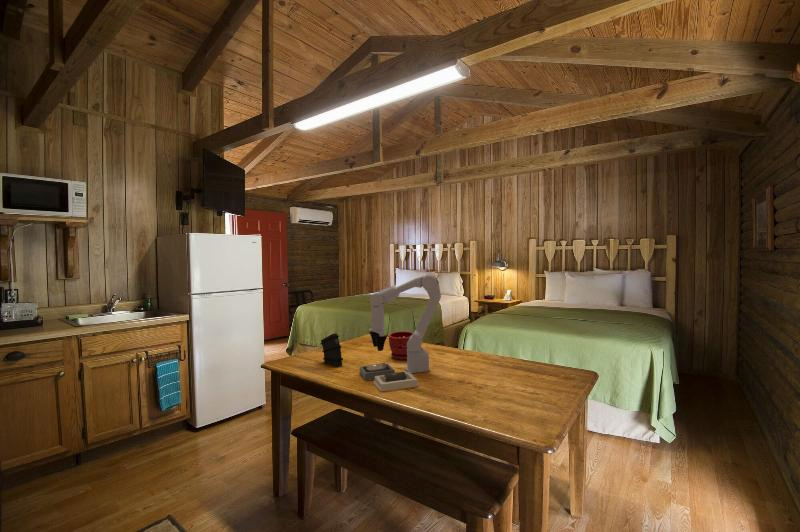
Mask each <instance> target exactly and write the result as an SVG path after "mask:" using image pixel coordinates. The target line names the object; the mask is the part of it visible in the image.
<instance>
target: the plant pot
mask: <svg viewBox="0 0 800 532" xmlns="http://www.w3.org/2000/svg"><path fill="white" fill-rule="evenodd" d="M413 334H414V332H413V331H395V332H391V333H389V334H388V345H389V349H390V351H391V357H392V358H393V359H394V360H395V359H396V360H399V359H400V360H401V361H402V360H403V361H404V359H405V360H407V349H408V348H407V342H408V340H409V338H410V336H411V335H413Z"/></svg>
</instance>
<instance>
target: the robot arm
mask: <svg viewBox="0 0 800 532" xmlns="http://www.w3.org/2000/svg"><path fill="white" fill-rule="evenodd" d="M413 288H420V289H421V288H423V289H424V290H425V291H426V293H427V295H428V296H429V297H428V298H429V299H428V301H427V304H426V305H425V308H424V310H423V312H422V314H421V317H420V319H419V321H418V323H417V325H416V327H415V329H414V332H413V333H414V334H413V335H411V336H410V338H409V340H408V342H407V348H408V349H407V359H406V365H407V366H405V367H404V370H406V372H409V373H410V374H416V373H425V372H430V355H429V351H428V350H427V349H424V348H423V347H422V345H423V342H424V340H423V338H424V335H425V333H426V331H427V330H428V327H429V325H430V323H431V320H432V318H433V315H434V313H435V311H436V309H437V307H438V305H439V303H440V301H441V298H442V294H441V293H442V292H441V288H440V282H439V280H438V278H437V276H436V275H435V274H432V273H428V274H425V275H421V276H418V277H416V278H413V279H410V280H409V281H406V282H405V283H402V284H400V285H398V286H395V285H392V284H391V285H388V286H387V287H386V288H384V289H382V290H381V289H380V290H378V292H375V293H373V294H372V295H371V296H370V297H369V303H370V305H371V309H370V312H371V313H370V315H371V316H370V317H371V318H370V320H371V321H370V323H371V328H368V331H369V332H368V333H369V335H370V337H371V342H372V347H374V348H376V347H377V351H378V352H381V351H383V350H384V348H385V343H386V340H387V339H388V335H387V334H385V314H384V312H385V309H384V303H388V302H390V301H392V300H394V299H397V298H399V297H400V294H401V293H403V292H406V291H408V290H411V289H413Z"/></svg>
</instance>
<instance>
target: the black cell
mask: <svg viewBox="0 0 800 532" xmlns="http://www.w3.org/2000/svg"><path fill="white" fill-rule="evenodd" d="M405 372H406V371H399V372H398V371H397V372H395V373H390V374H385V375H384V381H385V382H392V381H400V380H406V374H405Z"/></svg>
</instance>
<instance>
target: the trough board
mask: <svg viewBox="0 0 800 532" xmlns="http://www.w3.org/2000/svg"><path fill="white" fill-rule="evenodd" d="M404 372H405V374H406V380H400V381H392V382H385V381H384V375H380V376H374V380H372V383H373V385H374V387H376V389H377V390H378V392H387V391H394V390H401V389H409V388H415V387H419V383H418V378H417V377H415V376H414V375H413V373H409V372H408V371H404Z"/></svg>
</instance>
